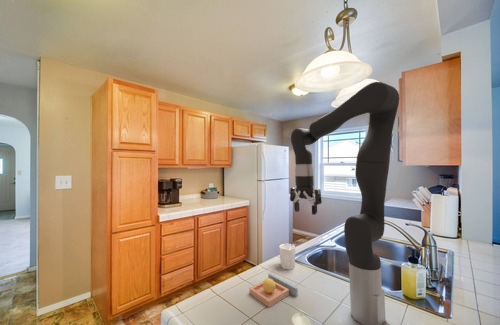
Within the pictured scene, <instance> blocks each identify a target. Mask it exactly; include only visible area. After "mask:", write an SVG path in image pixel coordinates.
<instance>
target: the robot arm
mask: <svg viewBox="0 0 500 325" xmlns="http://www.w3.org/2000/svg"><path fill="white" fill-rule="evenodd" d="M399 103H400V93H399V91H398V90H397V89H396V88H395V87H394V86H392V85H389V84H387V83H385V82H383V81H382V82H381V81H374V82H370V83H368V84H366V85H365V86H363V87H362V88H361V89H359V90H358V91H357V92H355V94H353V95H352V96H351V97H349V98H348V99H347V100H345V101H344V102H343V103H341V104H340V105H339V106H337V107H336V108H335V109H333V110H331V111H330V112H328V113H327V114H325V115H323V116H322V117H319V118H318V119H315V120H314V121H312V122H311V123H310V124H309V128H301V127H300V128H299V127H297V128H295V129H293V130H292V132H291V134H290V143H291V146H292V149H293V153H294V158H295V159H294V160H295V167H294V173H295V174H294V177H295V178H294V180H295V182H294V183H295V187H291V188H289V189H290V191H289V193H290V194H289V197H290V198H289V200H290V202H292V203H293V206H294V207H293V208H294V209H293V210H294V211H295V212H296V213H298V212H300V201H301V199H302V200H303V199H304V200H308V202H309V203H310V204H311V215H317V213H318V205H321V204H322V202H323V200H322V192H321V189H320V188H318V189H315V188H314V168H313V167H314V166H313V154H312V151H310V150H308V149H307V147H306V146H310V145H313V144H314V143H316V142H317V141H319V140H320V139H321V138H323V137H325V136H327V135H330V134H332V133H333V132H335V131H337V130H338V129H339V128H341V127H342V126H343V125H344V124H345V123H347V122H348V121H349V120H352V119H354V118H355V117H358V116H361V115H365V114H369V117H368V120H369V121H368V129H367V132H366V135H365V137H364V139H363V142H362V143H361V146H360V147H359V150H358V152H357V155H356V162H355V171H354V172H355V179H356V183H357V186H358V188H359V191H360V194H361V206H360V212H359V214H355V215H351V216H349V217H348V218H346V220H345V223H344V226H343V227H344V230H343V232H344V234H343V235H344V244H345V252H346V255H347V256H348V268H349V270H348V274H349V298H350V299H349V300H350V315H351V317H352V318H353V320H355V321H356V322H358V323H359V324H361V325H383V324H384V323H385V322H386V303H385V301H386V298H385V290H384V288H383V287H382V286H383V285H382V284H383V283H382V268H381V267H382V266H381V265H382V262H381V258H380V256H379V255H378V254H376V253H374V252H373V243H376V242H378V241H379V240H381V239H382V238H383V236H384V233H385V200H386V192H387V184H388V176H389V169H390V163H391V162H390V159H391V148H392V139H393V131H394V127H395V126H394V125H395V120H396V118H397V117H396V116H397V112H398V109H399Z"/></svg>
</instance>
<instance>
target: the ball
mask: <svg viewBox="0 0 500 325" xmlns="http://www.w3.org/2000/svg"><path fill="white" fill-rule="evenodd" d="M263 281H264V282H263ZM263 281H262V282H263V289H264V291H265V292H267V293H272V292H273V291H274V290H275V282H274V281H273V280H272V279H270V278H268V277H267V278H265V279H264V280H263Z"/></svg>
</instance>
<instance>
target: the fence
mask: <svg viewBox="0 0 500 325" xmlns="http://www.w3.org/2000/svg"><path fill="white" fill-rule="evenodd" d="M267 278H270V279H272V280H273V281H275V282H276V283H278V284H280V285H282V286H284V287H285V288H287V289H289V295H292V296H293V297H298V295H299V294H298V292H299V290H298V287H297V286H295V285H293V284H291V283H290V282H288V281H285V280H284V279H282V278H280V277H277V276H276V275H274V274H272V273H271V272H270V273H268V275H267Z"/></svg>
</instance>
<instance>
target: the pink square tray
mask: <svg viewBox="0 0 500 325" xmlns="http://www.w3.org/2000/svg"><path fill="white" fill-rule="evenodd" d="M263 282H264V280H263V281H262V282H259V283H257V284H255V285H253V286H252V287H249V295H251V296H252V297H254V298H255V299H256V300H258V301H259V302H261V303H262V304H264V306H265V305H266V306H267V307H268V308H270V307H272V306H274V305H275V304H276V303H278V302H280V301H282V300H283V299H285V298H287V297H288V296H290V293H289V289H287V288H285V287H284V286H282V285H280V284H278V283H276V282H275V281H274V282H275V290H274V291H273V292H272V293H267V292H265V291H264V289H263Z"/></svg>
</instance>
